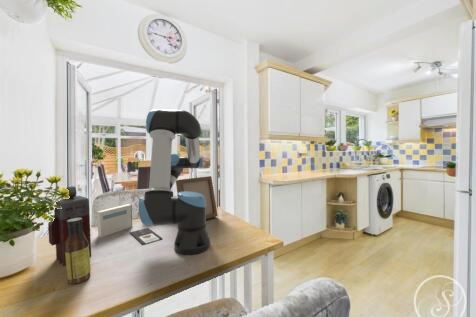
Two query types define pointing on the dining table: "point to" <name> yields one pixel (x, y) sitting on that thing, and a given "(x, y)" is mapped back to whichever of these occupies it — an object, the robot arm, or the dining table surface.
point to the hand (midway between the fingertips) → (146, 214)
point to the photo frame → (202, 187)
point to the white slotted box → (114, 219)
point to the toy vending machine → (59, 228)
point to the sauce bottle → (77, 252)
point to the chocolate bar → (145, 236)
